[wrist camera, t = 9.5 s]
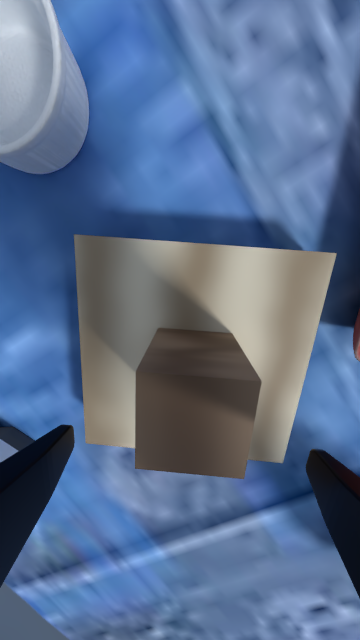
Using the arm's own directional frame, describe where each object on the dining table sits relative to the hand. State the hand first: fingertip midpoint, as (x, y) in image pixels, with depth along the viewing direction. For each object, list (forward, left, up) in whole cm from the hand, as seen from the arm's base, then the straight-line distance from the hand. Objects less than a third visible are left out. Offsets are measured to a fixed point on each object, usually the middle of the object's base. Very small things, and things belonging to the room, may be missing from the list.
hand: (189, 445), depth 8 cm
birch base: (0, 0, -10) cm, 10 cm away
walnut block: (0, 0, -7) cm, 7 cm away
